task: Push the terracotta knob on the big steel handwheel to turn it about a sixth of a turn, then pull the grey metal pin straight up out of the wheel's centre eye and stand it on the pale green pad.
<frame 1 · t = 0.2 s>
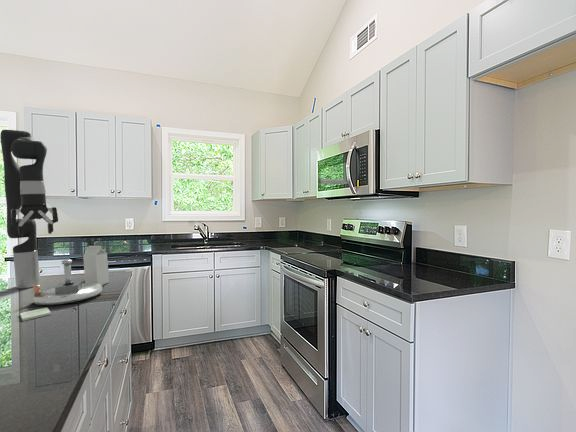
hand: (36, 234, 124), 28 cm above the table, tool pointing down, fingers open, 8 cm apart
drinking cup: (92, 280, 166), on the table
milk carton: (97, 285, 156), on the table
handwheel: (68, 288, 135), point 4 cm above the table, hinge at 0.0°, touching metal pin
metal pin: (69, 291, 135), point 3 cm above the table, touching handwheel
pad: (35, 314, 116), on the table
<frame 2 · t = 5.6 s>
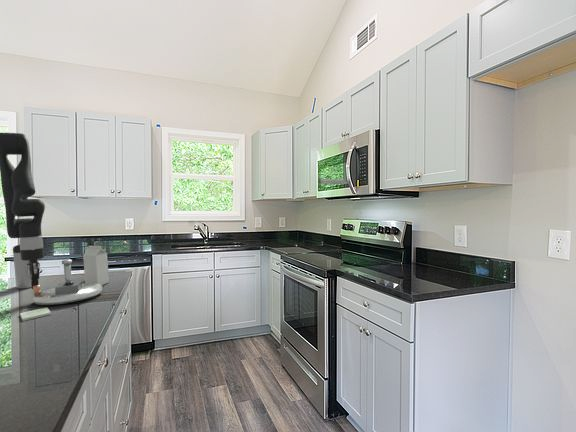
hand: (35, 288, 132), 5 cm above the table, tool pointing down, fingers closed
handwheel: (68, 288, 135), point 4 cm above the table, hinge at 0.1°, touching gripper, metal pin
everything else where it was.
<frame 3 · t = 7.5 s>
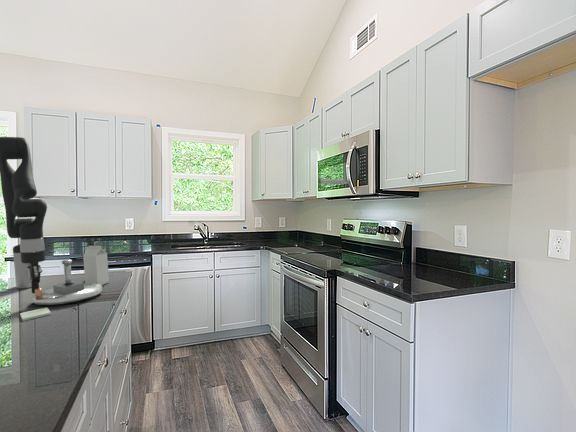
hand: (35, 292, 127), 5 cm above the table, tool pointing down, fingers closed
handwheel: (68, 288, 135), point 4 cm above the table, hinge at 36.8°, touching gripper, metal pin
everything else where it was.
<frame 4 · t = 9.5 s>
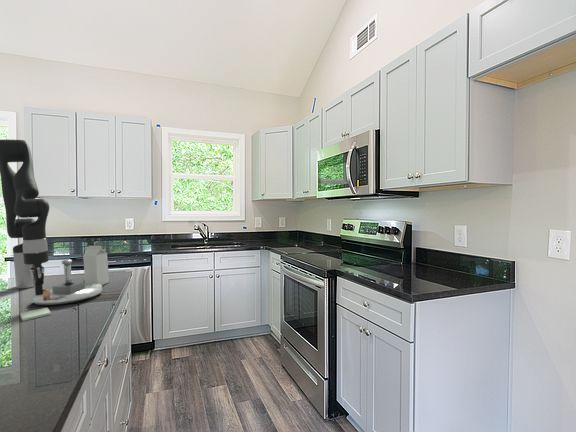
hand: (39, 294, 124), 5 cm above the table, tool pointing down, fingers closed
handwheel: (69, 288, 135), point 4 cm above the table, hinge at 58.7°, touching metal pin
everything else where it was.
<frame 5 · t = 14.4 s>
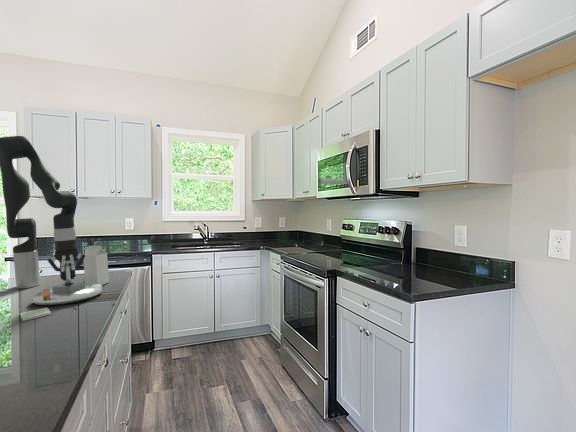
hand: (68, 279, 135), 8 cm above the table, tool pointing down, fingers closed on metal pin, 2 cm apart
metal pin: (69, 291, 135), point 3 cm above the table, touching gripper, handwheel
everything else where it was.
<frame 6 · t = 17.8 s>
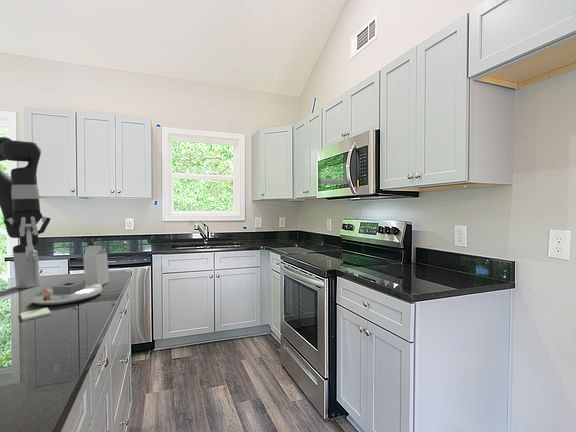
hand: (29, 245, 115), 25 cm above the table, tool pointing down, fingers closed on metal pin, 2 cm apart
handwheel: (69, 288, 135), point 4 cm above the table, hinge at 58.7°
metal pin: (30, 259, 115), point 20 cm above the table, touching gripper
everything else where it was.
when the fingers open (7 cm above the table, at t = 21.5 s): metal pin drops 1 cm, resting on pad.
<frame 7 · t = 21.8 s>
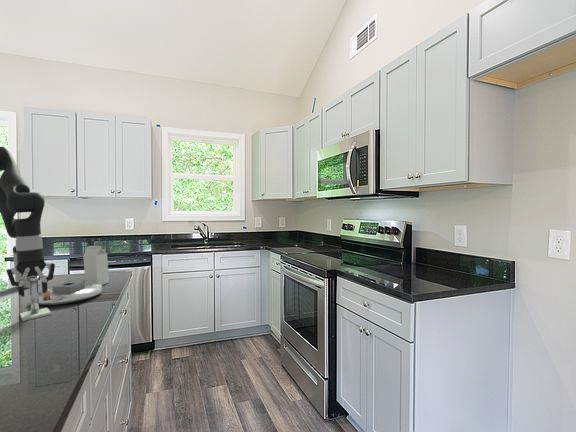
hand: (33, 294, 116), 8 cm above the table, tool pointing down, fingers open, 5 cm apart
metal pin: (35, 312, 116), point 1 cm above the table, touching pad
everything else where it was.
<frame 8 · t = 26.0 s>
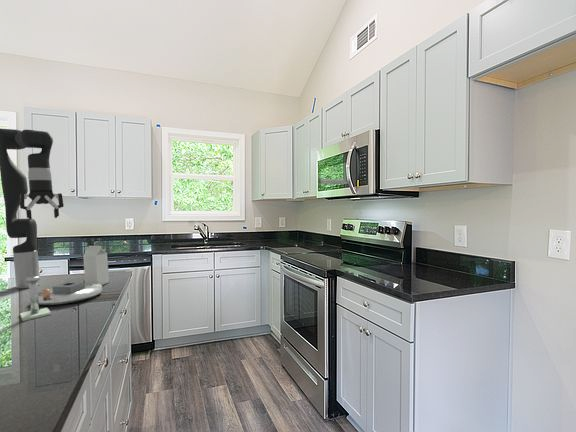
hand: (43, 218, 133), 34 cm above the table, tool pointing down, fingers open, 8 cm apart
nothing on the table moved.
at the end: handwheel at +59° (first picture: +0°); metal pin inside the target area on the pad (0.1 cm from its centre), point 0.8 cm above the pad's base; the gripper is holding nothing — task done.
